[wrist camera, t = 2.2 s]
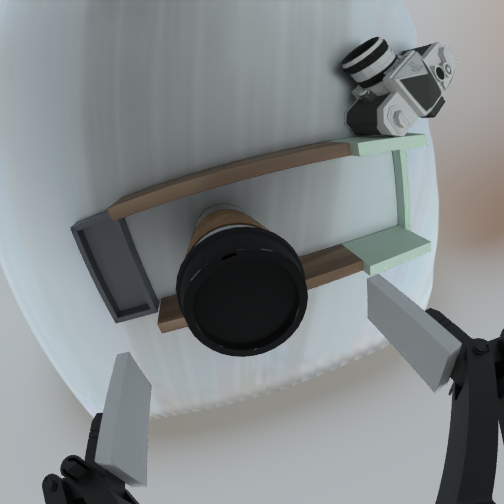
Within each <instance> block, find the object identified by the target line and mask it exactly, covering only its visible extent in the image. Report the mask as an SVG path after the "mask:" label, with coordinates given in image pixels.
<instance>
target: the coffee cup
mask: <svg viewBox="0 0 504 504" xmlns="http://www.w3.org/2000/svg"><path fill="white" fill-rule="evenodd" d="M176 293H177V300H178V305H179V308H180V310H181V313H182V315H183V317H184V318H185V320H186V323H187V325H188V327H189V329H190V330H191V332H192V333H193V335H194V336H195V337H196V338H197V339H198V340H199V341H200V342H201V343H202V344H204V345H205V346H207V347H208V348H210V349H212V350H214V351H216V352H219V353H221V354H225V355H230V356H240V357H245V356H254V355H258V354H262V353H265V352H267V351H270V350H272V349H274V348H276V347H277V346H279V345H281V344H282V343H284V342H285V341H286V340H287V339H288V338H289V337H290V336H291V335H292V334H293V333H294V332H295V330H296V329H297V328H298V327H299V325H300V323H301V321H302V319H303V317H304V314H305V311H306V308H307V300H308V292H307V285H306V281H305V272H304V269H303V266H302V263H301V261H300V259H299V257H298V255H297V254H296V252H295V250H294V249H293V248H292V247H291V246H290V245H289V244H288V243H287V242H286V241H285V240H284V239H283V238H281V237H280V236H278V235H277V234H275V233H273V232H270V231H269V230H267V229H266V228H265V227H263V226H262V225H261V224H259V223H258V222H257V221H255V220H254V219H252V218H251V217H250V216H248V215H247V214H245V213H244V212H243V211H242V210H240V209H239V208H237V207H235V206H232V205H228V204H220V205H215V206H213V207H210V208H209V209H207V210H206V211H204V212H203V214H202V215H201V216H200V217H199V219H198V221H197V223H196V226H195V230H194V233H193V236H192V239H191V242H190V245H189V248H188V251H187V254H186V257H185V259H184V261H183V263H182V264H181V267H180V270H179V273H178V276H177V283H176Z"/></svg>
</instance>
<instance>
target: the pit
mask: <svg viewBox="0 0 504 504" xmlns="http://www.w3.org/2000/svg"><path fill="white" fill-rule="evenodd" d="M71 231H72V233H73V236H74V238H75V241H76V243H77V246H78V248H79V250H80V253H81V255H82V257H83V260H84V262H85V264H86V266H87V268H88V270H89V273H90V275H91V277H92V279H93V281H94V283H95V285H96V287H97V289H98V291H99V293H100V295H101V297H102V299H103V301H104V303H105V305H106V306H107V308H108V310H109V312H110V314H111V316H112V317H113V319H114V321H115V323H119V322H123V321H127V320H131V319H134V318H138V317H142V316H146V315H149V314H153V313H157V312H158V307H159V302H158V300H157V298H156V295H155V293H154V291H153V289H152V287H151V284H150V282H149V280H148V277H147V275H146V273H145V270H144V268H143V266H142V263H141V261H140V258H139V256H138V254H137V251H136V249H135V246H134V244H133V241H132V238H131V236H130V233H129V231H128V228H127V225H126V222H125V220H124V218H121V219H118V220H115V221H113V222H112V220H111V218H110V215H109V212H108V210H107V211H104V212H102V213H99V214H97V215H94V216H92V217H89V218H87V219H84V220H82V221H80V222H77V223H76V224H74V225H73V226H72V227H71Z"/></svg>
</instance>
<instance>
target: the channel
mask: <svg viewBox="0 0 504 504" xmlns="http://www.w3.org/2000/svg"><path fill="white" fill-rule="evenodd" d="M350 155H351V151H350V145H349V143H346V142H321V143H315V144H310V145H305V146H300V147H295V148H290V149H286V150H281V151H277V152H272V153H268V154H264V155H260V156H255V157H251V158H247V159H243V160H239V161H236V162H232V163H228V164H224V165H221V166H217V167H214V168H210V169H207V170H203V171H200V172H196V173H193V174H190V175H187V176H183V177H180V178H177V179H174V180H171V181H168V182H165V183H162V184H159V185H156V186H153V187H150V188H147V189H144V190H141V191H139V192H136V193H133V194H130V195H128V196H125V197H122V198H121V199H119V200H118V201H117V202H115V203H114V204H113V205H112V206H110V207H109V208H108V212H109V215H110V218H111V220H112V222H113V221H115V220H118V219H121V218H124V217H126V216H129V215H132V214H135V213H138V212H141V211H143V210H146V209H149V208H152V207H155V206H158V205H161V204H164V203H167V202H170V201H173V200H177V199H180V198H183V197H186V196H189V195H192V194H196V193H199V192H202V191H206V190H209V189H213V188H216V187H219V186H223V185H227V184H230V183H234V182H237V181H241V180H245V179H249V178H252V177H256V176H260V175H264V174H268V173H272V172H276V171H280V170H284V169H289V168H293V167H297V166H302V165H306V164H311V163H315V162H320V161H325V160H329V159H334V158H339V157H345V156H350ZM299 259H300V261H301V263H302V266H303V269H304V272H305V281H306V285H307V290H309V289H312V288H315V287H318V286H320V285H323V284H326V283H329V282H332V281H335V280H337V279H340V278H343V277H346V276H349V275H351V274H354V273H357V272H359V271H362V270H363V260H362V259H360V258H359V257H358V256H357V255H355V254H354V253H353V252H351V251H350V250H349V249H347V248H346V247H345V246H343V245H342V244H340V245H337V246H334V247H330V248H327V249H324V250H321V251H318V252H315V253H312V254H308V255H305V256H302V257H299ZM157 325H158V327H159V328H160V330H161V332H162V333H165V332H169V331H173V330H177V329H181V328H184V327H188V325H187V323H186V320H185V318H184V317H183V315H182V313H181V310H180V308H179V305H178V300H177V294H176V295H173V296H169V297H166V298H162V299H161V305H160V311H159V317H158V323H157Z"/></svg>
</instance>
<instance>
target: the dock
mask: <svg viewBox="0 0 504 504" xmlns="http://www.w3.org/2000/svg"><path fill="white" fill-rule="evenodd" d="M326 142H346V143H349V145H350V151H351V155H353V156H365V155H370V154H376V153H382V152H388V151H392V152H393V160H394V169H395V179H396V190H397V205H398V225H397V226H394V227H391V228H388V229H385V230H382V231H379V232H376V233H373V234H370V235H367V236H364V237H361V238H358V239H355V240H352V241H349V242H346V243H343V244H342V245H343V246H345V247H346V248H347V249H349V250H350V251H351V252H353V253H354V254H355V255H357V256H358V257H359V258H360V259H362V260H363V270H364V271H365V272H366V273H367V274H368V275H370V276H372V275H375V274H377V273H380V272H382V271H385V270H387V269H390V268H392V267H395V266H397V265H399V264H402V263H404V262H407V261H409V260H411V259H414V258H416V257H418V256H421V255H423V254H425V253H427V252H430V249H431V242H430V241H428V240H426V239H424V238H423V237H421V236H419V235H417V234H415V233H413V232H411V215H410V192H409V178H408V167H407V157H406V149H407V148H414V147H421V146H428V145H427V137H426V134H415V133H406V134H405V136H393V137H389V136H380V135H364V136H357V137H350V138H344V139H338V140H332V141H326Z"/></svg>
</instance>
